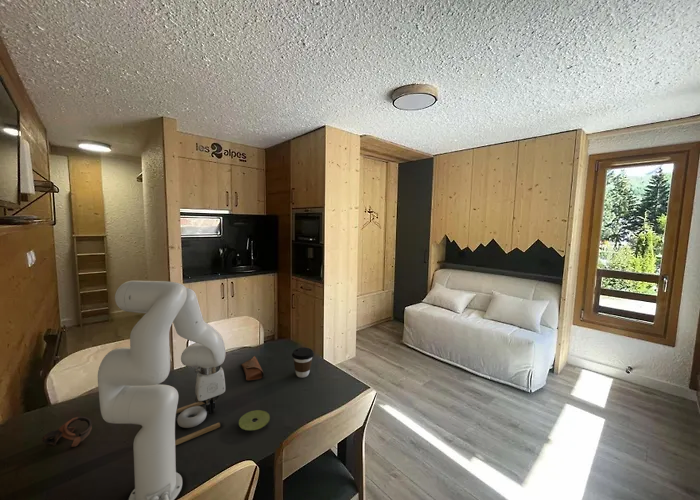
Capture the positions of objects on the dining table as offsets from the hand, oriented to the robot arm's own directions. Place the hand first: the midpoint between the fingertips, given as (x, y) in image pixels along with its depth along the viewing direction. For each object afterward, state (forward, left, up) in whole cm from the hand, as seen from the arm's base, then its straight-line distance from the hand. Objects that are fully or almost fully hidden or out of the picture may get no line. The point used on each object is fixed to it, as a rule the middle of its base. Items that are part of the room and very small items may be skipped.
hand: (210, 411), depth 115 cm
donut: (0, +7, -1) cm, 7 cm away
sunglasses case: (+22, -26, -1) cm, 34 cm away
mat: (-16, -11, -1) cm, 20 cm away
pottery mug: (+14, +41, -1) cm, 44 cm away
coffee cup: (+4, -45, -1) cm, 45 cm away
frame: (0, +7, -1) cm, 7 cm away
